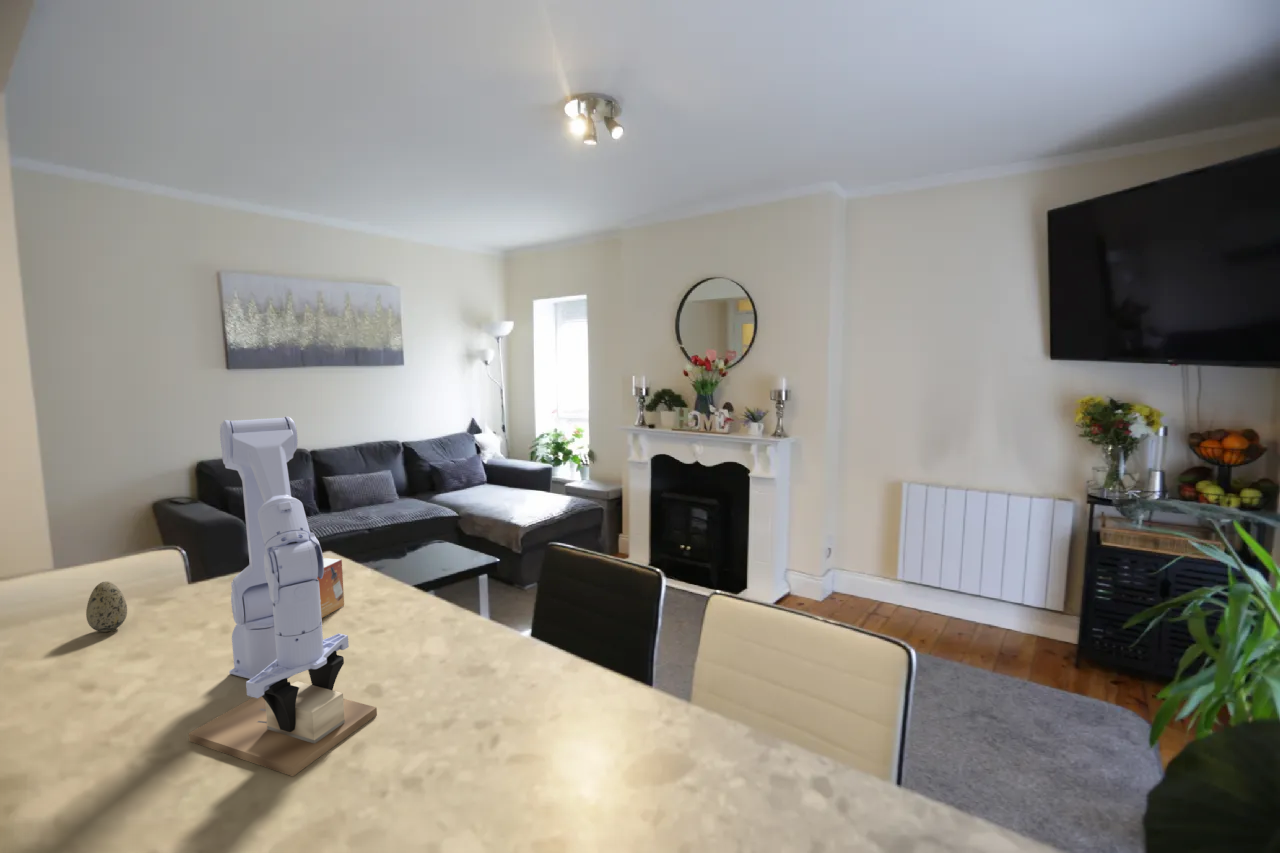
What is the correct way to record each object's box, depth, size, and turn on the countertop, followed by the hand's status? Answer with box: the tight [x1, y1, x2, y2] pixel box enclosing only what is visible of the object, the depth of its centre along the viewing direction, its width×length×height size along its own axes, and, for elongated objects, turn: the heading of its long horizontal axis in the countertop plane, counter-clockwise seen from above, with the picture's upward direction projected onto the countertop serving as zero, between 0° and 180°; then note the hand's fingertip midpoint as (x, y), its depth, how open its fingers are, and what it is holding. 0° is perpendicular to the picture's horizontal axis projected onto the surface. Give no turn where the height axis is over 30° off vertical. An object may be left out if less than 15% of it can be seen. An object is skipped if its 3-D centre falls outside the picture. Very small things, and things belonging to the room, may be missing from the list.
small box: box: [317, 557, 345, 619], centre depth 124 cm, size 8×6×10 cm
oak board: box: [188, 696, 378, 777], centre depth 85 cm, size 20×14×1 cm
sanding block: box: [265, 680, 345, 744], centre depth 83 cm, size 9×5×4 cm, turn 69°
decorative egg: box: [85, 581, 128, 633], centre depth 115 cm, size 6×6×10 cm
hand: (305, 717), depth 84 cm, fingers closed on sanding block, 5 cm apart
